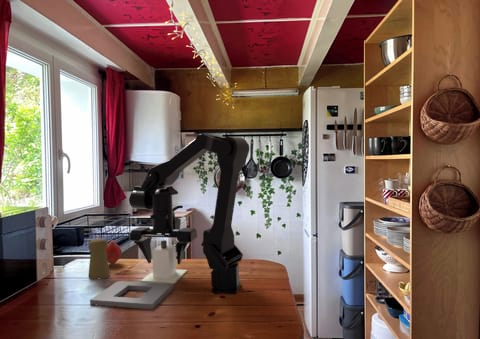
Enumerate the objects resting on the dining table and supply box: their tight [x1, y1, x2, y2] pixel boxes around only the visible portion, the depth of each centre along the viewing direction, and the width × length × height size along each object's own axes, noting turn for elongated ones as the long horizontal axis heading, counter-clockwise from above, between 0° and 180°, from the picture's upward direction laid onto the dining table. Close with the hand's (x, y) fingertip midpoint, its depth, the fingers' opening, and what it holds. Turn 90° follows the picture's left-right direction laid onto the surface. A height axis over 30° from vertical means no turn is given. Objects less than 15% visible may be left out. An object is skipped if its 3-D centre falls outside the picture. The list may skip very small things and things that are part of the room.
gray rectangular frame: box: [89, 280, 174, 310], centre depth 84 cm, size 16×12×1 cm
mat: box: [140, 268, 188, 285], centre depth 97 cm, size 10×10×1 cm
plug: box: [151, 240, 177, 279], centre depth 97 cm, size 5×5×10 cm
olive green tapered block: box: [87, 237, 111, 280], centre depth 99 cm, size 6×6×11 cm
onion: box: [106, 239, 123, 265], centre depth 109 cm, size 6×6×8 cm
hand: (164, 263), depth 97 cm, fingers open, 9 cm apart
